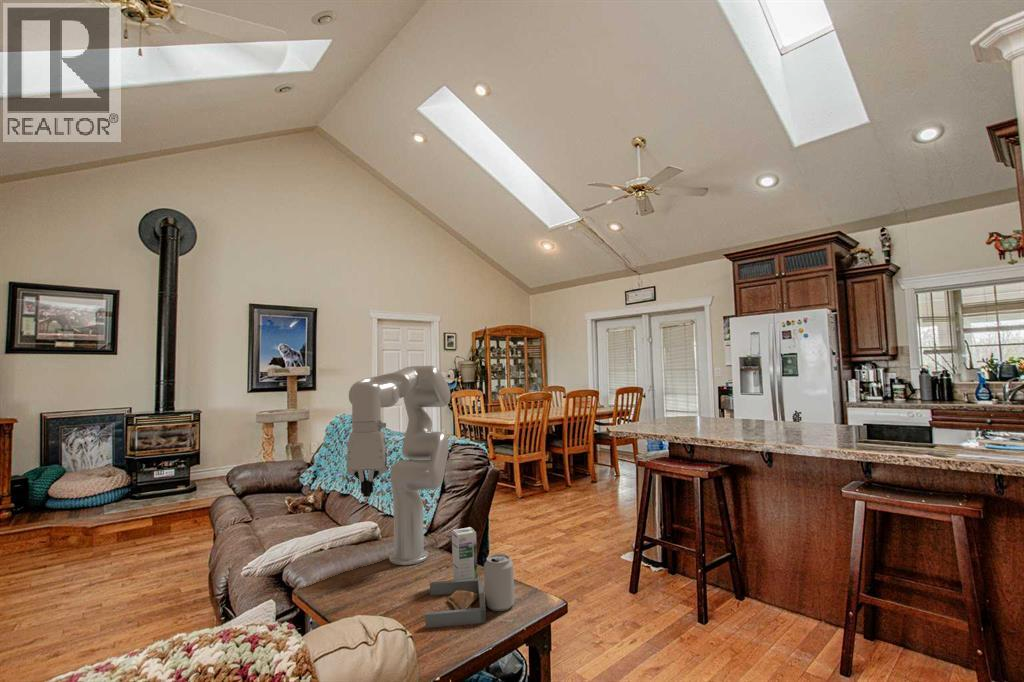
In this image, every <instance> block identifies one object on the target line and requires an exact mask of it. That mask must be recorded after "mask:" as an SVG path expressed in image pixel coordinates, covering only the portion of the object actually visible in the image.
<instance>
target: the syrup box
mask: <svg viewBox="0 0 1024 682" xmlns="http://www.w3.org/2000/svg"><path fill="white" fill-rule="evenodd" d="M451 549H452V550H451V552H452V554H451V555H452V580H466V579H479V576H478V551H477V550H478V549H477V532H476V531H475V530H474V528H472V527H471V526H468V527H464V528H458V529H451Z"/></svg>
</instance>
